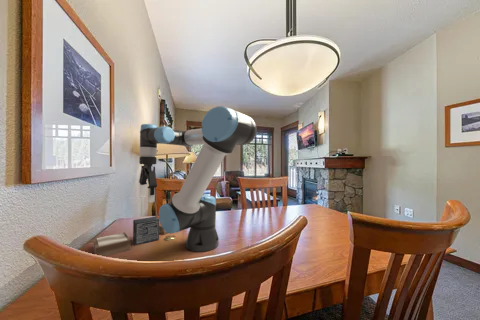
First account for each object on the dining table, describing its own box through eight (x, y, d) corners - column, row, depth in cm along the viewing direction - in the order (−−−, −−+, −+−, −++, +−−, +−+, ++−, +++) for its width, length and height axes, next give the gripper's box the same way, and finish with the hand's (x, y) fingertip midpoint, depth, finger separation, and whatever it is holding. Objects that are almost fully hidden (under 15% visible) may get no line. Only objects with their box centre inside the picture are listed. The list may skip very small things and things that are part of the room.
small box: (155, 236, 98) (156, 215, 98) (159, 240, 93) (159, 218, 93) (132, 241, 92) (132, 219, 92) (135, 245, 87) (135, 222, 87)
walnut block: (171, 232, 104) (172, 224, 104) (164, 235, 100) (164, 227, 100) (165, 230, 107) (165, 223, 107) (157, 233, 102) (158, 225, 103)
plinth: (130, 249, 83) (130, 239, 83) (95, 258, 75) (96, 247, 75) (124, 240, 92) (124, 231, 92) (93, 247, 84) (93, 238, 84)
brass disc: (177, 239, 95) (177, 237, 95) (167, 242, 92) (167, 240, 92) (173, 236, 99) (173, 234, 99) (163, 238, 95) (163, 236, 95)
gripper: (165, 156, 86) (164, 203, 86) (148, 156, 105) (147, 195, 105) (147, 155, 81) (146, 205, 81) (133, 156, 100) (132, 196, 100)
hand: (146, 199), depth 93 cm, fingers open, 13 cm apart
